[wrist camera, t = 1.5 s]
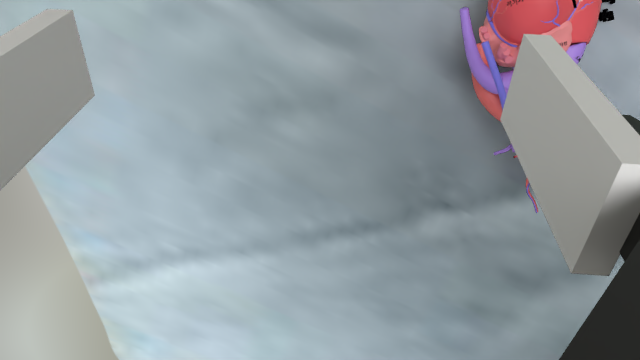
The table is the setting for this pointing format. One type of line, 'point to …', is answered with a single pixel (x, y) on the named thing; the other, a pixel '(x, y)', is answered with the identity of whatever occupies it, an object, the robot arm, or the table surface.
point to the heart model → (506, 36)
